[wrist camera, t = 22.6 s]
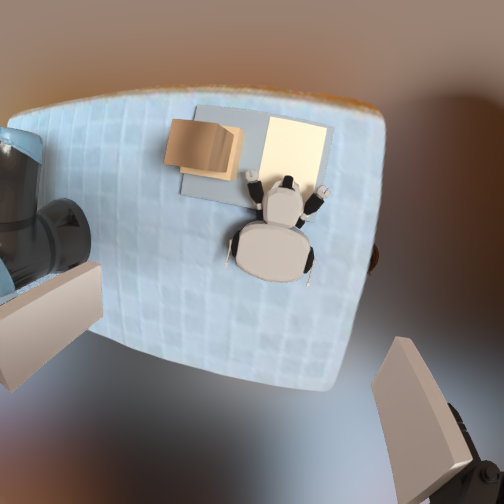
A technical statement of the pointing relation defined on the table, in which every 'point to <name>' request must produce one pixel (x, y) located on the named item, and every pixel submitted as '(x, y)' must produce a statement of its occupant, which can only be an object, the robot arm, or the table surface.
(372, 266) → the cup and saucer
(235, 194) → the board
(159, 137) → the table surface
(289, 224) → the robot toy
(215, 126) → the walnut block
